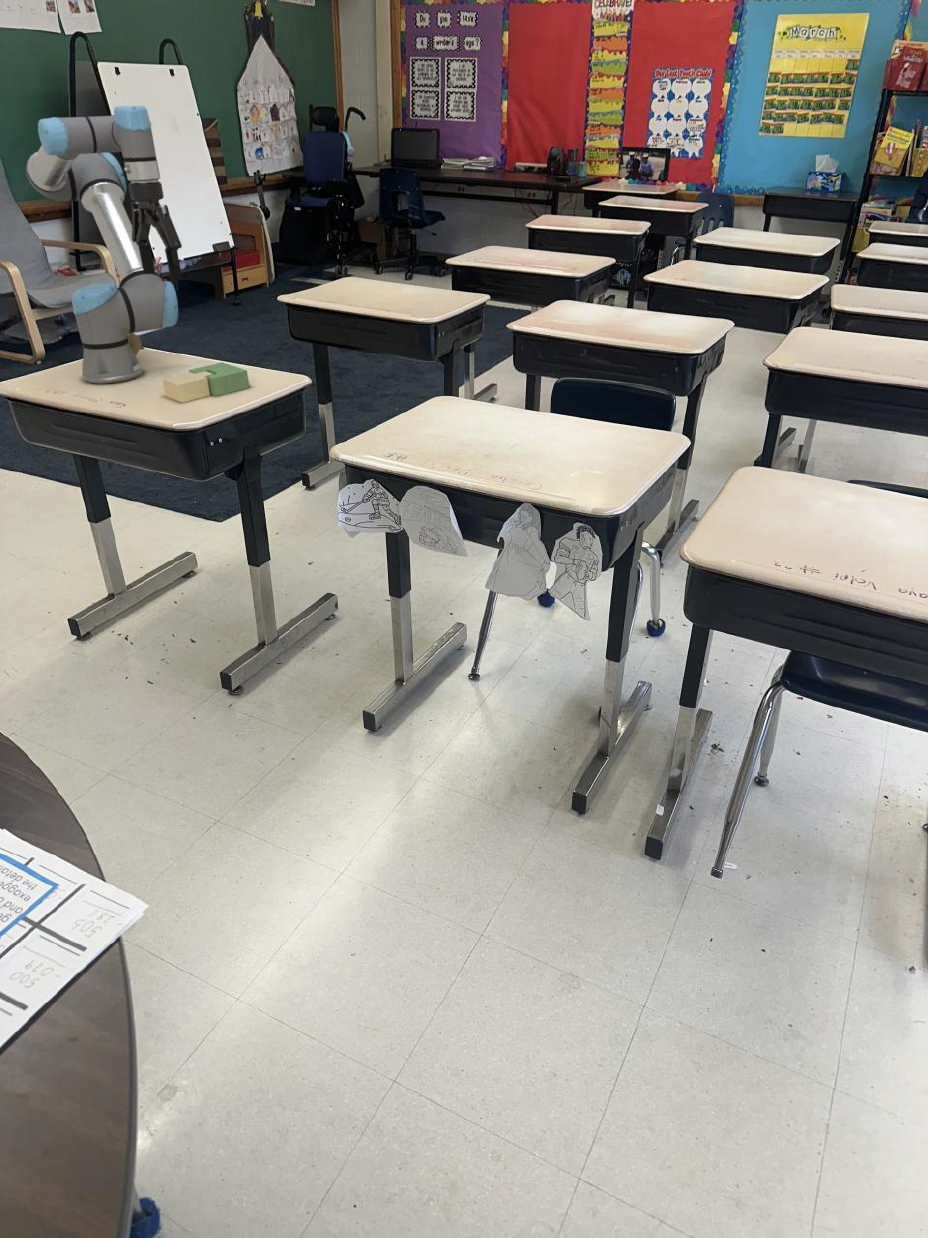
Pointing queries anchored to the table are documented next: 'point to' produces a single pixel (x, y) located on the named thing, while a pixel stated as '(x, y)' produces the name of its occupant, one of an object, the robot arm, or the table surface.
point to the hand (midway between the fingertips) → (162, 276)
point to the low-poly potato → (134, 343)
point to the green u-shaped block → (224, 378)
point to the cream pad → (187, 386)
